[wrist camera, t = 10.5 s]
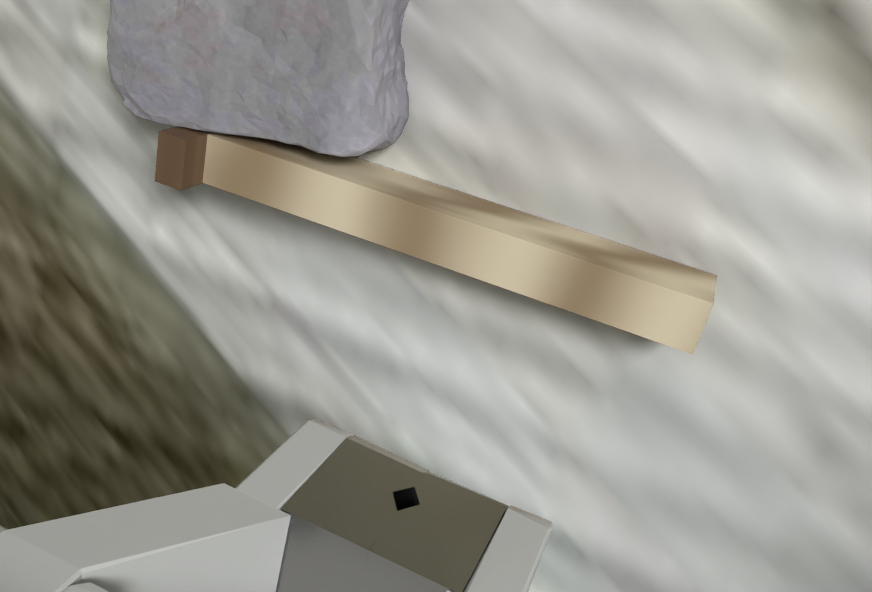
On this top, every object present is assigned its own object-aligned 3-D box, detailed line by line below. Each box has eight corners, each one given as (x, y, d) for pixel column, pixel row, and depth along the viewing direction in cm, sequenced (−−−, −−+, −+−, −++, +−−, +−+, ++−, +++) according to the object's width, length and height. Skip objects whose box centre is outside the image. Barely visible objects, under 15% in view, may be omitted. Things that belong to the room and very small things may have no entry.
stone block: (176, -123, 34) (156, 120, 36) (99, -167, 30) (81, 114, 32) (449, -100, 32) (411, 163, 34) (410, -144, 27) (369, 164, 29)
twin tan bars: (908, -204, 24) (938, -240, 20) (697, 323, 31) (690, 371, 27) (273, -323, 29) (198, -371, 25) (219, 159, 36) (154, 181, 32)
